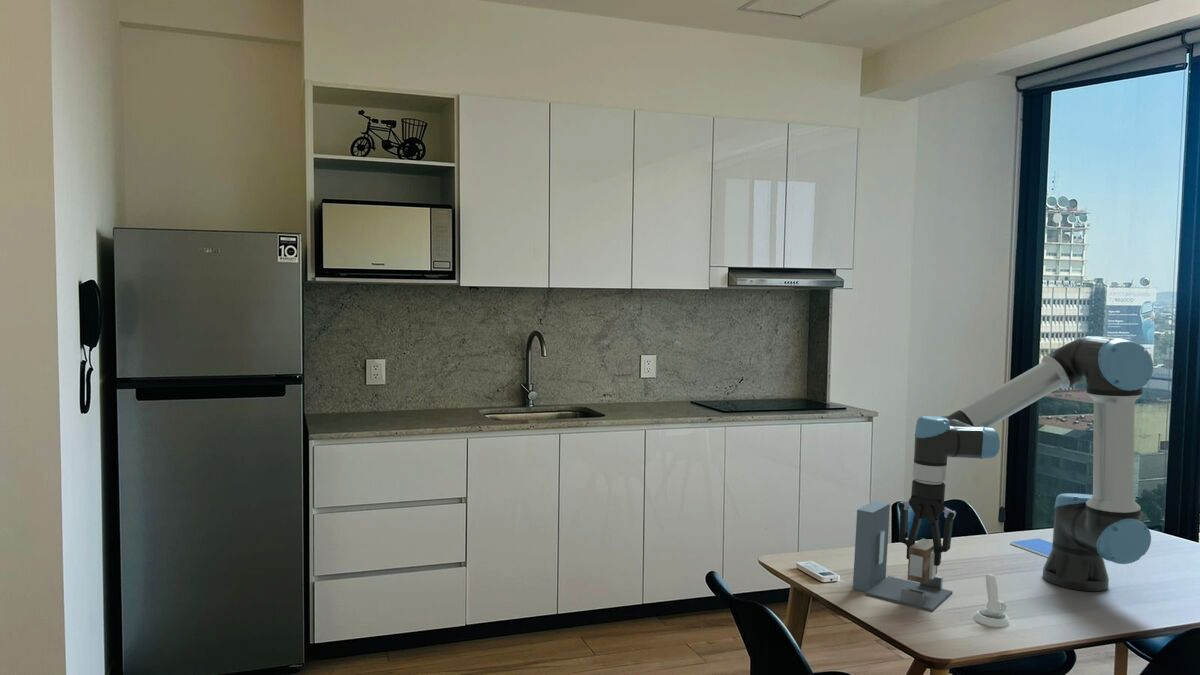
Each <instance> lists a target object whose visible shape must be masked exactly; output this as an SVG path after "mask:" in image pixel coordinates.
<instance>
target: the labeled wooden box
mask: <svg viewBox="0 0 1200 675" xmlns="http://www.w3.org/2000/svg"><path fill="white" fill-rule="evenodd" d="M933 550H934V546H933V539H927V538H924V537H923V538H921V539H919V540H918V541H915V544H913V545H912V546H910V547H909V559H908V563H907V565H908V566H907V577H906V578H907V579H906V580H907V581H912V582H916V583H923V584H925V583H926V582H927V581H928V580H930V579H929V572H930V557H931V552H932V551H933ZM937 574H938V566H936V575H937Z"/></svg>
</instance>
